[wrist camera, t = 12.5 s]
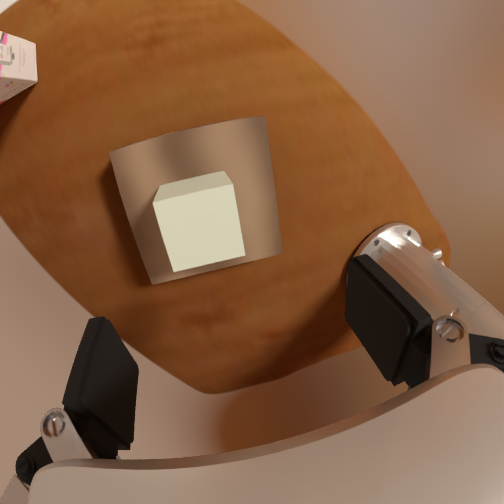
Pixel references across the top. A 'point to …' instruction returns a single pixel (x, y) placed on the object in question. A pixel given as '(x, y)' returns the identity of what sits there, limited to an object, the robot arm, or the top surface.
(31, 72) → the ink cartridge box
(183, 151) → the walnut block
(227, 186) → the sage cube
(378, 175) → the top surface
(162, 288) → the top surface
